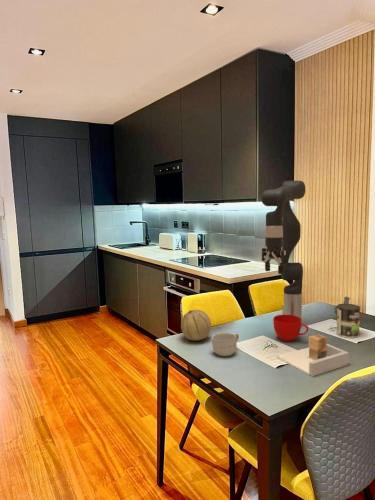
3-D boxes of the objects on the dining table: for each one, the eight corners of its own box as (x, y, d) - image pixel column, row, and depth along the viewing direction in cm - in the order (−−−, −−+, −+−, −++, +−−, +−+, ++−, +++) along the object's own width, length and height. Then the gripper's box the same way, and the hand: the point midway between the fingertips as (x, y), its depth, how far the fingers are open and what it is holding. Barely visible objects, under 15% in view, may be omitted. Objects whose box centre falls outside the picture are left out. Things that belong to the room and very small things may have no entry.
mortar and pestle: (350, 324, 191) (351, 301, 190) (332, 320, 197) (332, 299, 195) (356, 318, 200) (356, 297, 198) (338, 315, 206) (338, 294, 204)
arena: (276, 357, 153) (276, 346, 152) (311, 348, 162) (311, 337, 161) (312, 376, 135) (312, 363, 135) (348, 364, 144) (348, 352, 144)
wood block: (317, 361, 146) (317, 339, 145) (309, 357, 151) (309, 336, 149) (326, 358, 149) (327, 337, 148) (318, 354, 153) (318, 334, 152)
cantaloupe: (217, 340, 174) (217, 309, 172) (193, 347, 166) (192, 316, 164) (199, 331, 186) (198, 303, 184) (175, 338, 178) (174, 308, 176)
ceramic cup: (301, 348, 162) (302, 326, 160) (268, 339, 173) (268, 319, 172) (314, 339, 171) (314, 319, 170) (281, 332, 182) (281, 312, 181)
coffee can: (364, 336, 174) (365, 307, 172) (348, 339, 170) (349, 310, 168) (347, 329, 183) (347, 302, 182) (331, 332, 179) (332, 305, 177)
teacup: (220, 360, 151) (220, 342, 150) (207, 351, 161) (206, 334, 160) (247, 353, 158) (247, 336, 157) (233, 345, 167) (233, 328, 166)
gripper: (292, 236, 154) (291, 274, 156) (270, 234, 166) (270, 269, 168) (278, 237, 150) (278, 276, 152) (256, 235, 163) (257, 271, 165)
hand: (274, 272), depth 160 cm, fingers open, 8 cm apart
